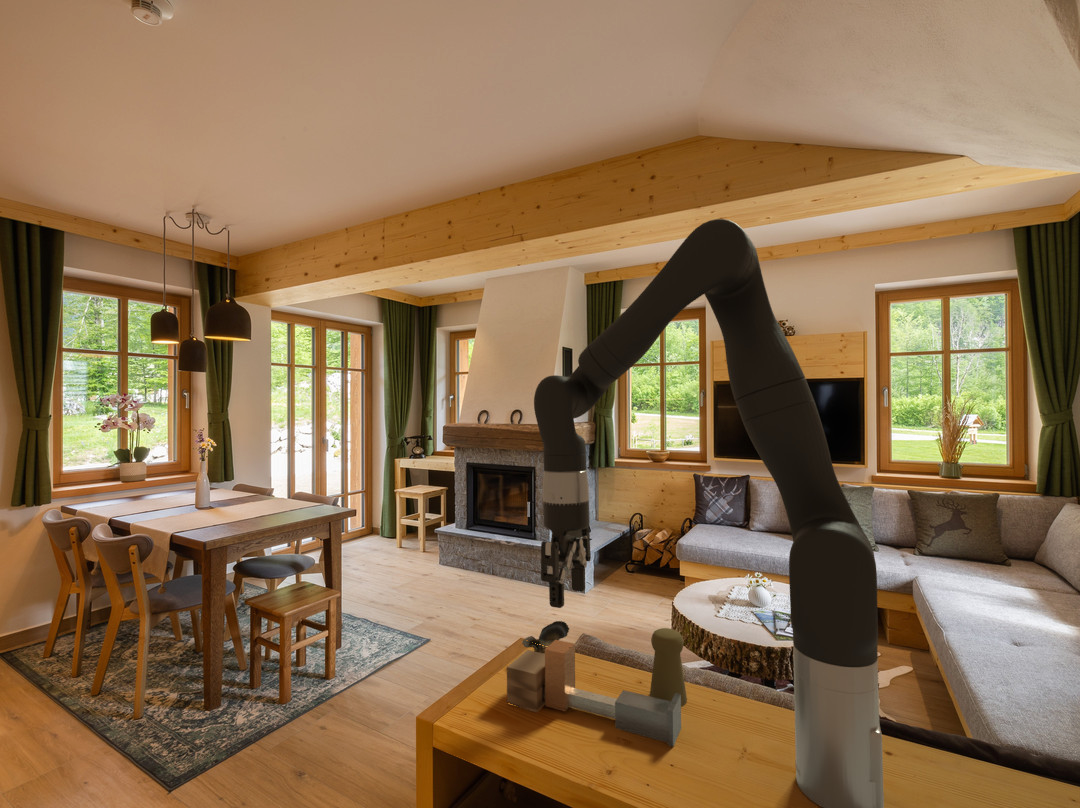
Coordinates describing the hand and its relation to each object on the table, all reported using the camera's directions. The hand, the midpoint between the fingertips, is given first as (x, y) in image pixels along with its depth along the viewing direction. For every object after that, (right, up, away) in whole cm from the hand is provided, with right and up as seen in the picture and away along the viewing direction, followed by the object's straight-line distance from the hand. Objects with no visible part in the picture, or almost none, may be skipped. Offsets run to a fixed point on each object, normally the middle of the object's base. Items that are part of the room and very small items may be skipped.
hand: (568, 598), depth 85 cm
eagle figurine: (-3, -18, +17) cm, 25 cm away
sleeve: (+11, -17, -7) cm, 21 cm away
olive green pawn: (+17, -17, +2) cm, 24 cm away
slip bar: (+1, -17, -2) cm, 17 cm away
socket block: (-6, -17, +2) cm, 19 cm away
